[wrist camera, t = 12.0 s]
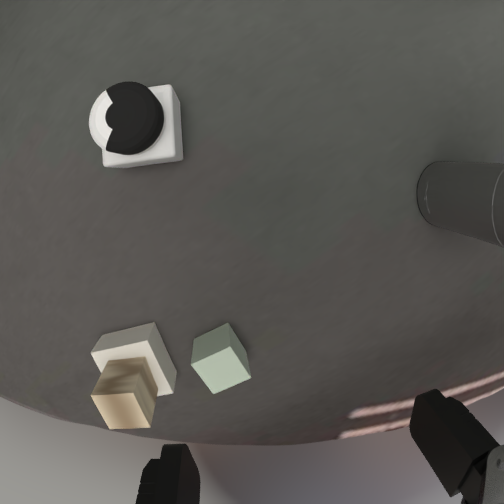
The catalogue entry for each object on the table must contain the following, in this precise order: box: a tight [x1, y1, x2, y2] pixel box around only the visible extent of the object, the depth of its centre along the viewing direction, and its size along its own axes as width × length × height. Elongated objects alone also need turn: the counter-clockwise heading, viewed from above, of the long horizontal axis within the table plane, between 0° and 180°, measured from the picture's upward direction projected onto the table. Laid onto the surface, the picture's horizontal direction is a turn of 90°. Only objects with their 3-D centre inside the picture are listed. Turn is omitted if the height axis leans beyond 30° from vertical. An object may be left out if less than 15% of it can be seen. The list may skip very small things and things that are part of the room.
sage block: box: [191, 323, 251, 394], centre depth 37 cm, size 5×5×6 cm
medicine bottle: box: [89, 82, 183, 168], centre depth 27 cm, size 7×7×12 cm
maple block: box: [91, 356, 158, 429], centre depth 31 cm, size 5×5×7 cm
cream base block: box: [91, 322, 177, 396], centre depth 36 cm, size 8×8×5 cm
